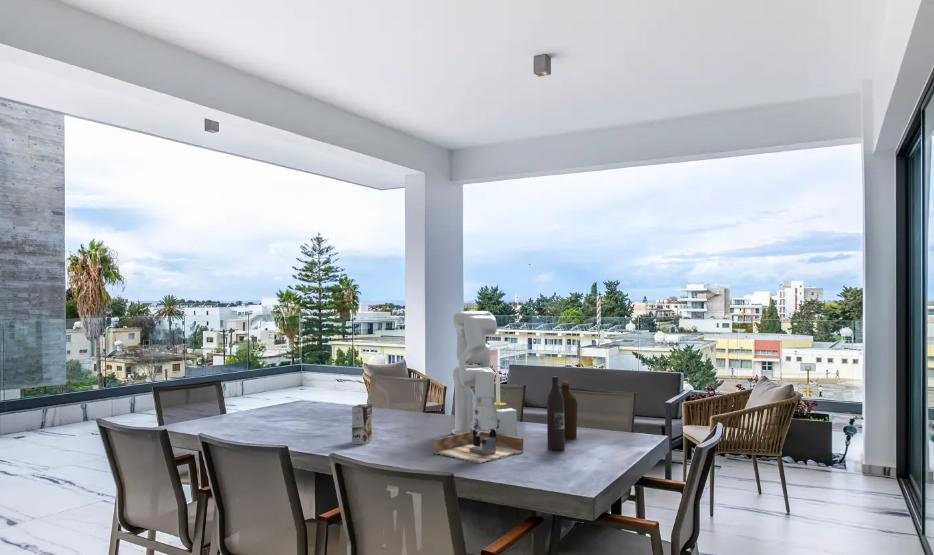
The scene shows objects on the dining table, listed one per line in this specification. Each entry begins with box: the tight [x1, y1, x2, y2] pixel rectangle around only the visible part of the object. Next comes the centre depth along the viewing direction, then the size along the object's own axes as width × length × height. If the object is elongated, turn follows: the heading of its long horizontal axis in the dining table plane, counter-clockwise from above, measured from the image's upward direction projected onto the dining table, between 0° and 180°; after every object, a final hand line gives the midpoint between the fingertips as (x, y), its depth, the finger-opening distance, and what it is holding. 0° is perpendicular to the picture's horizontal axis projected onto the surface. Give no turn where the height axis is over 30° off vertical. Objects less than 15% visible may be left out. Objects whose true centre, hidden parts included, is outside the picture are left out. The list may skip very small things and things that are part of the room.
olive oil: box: [560, 380, 578, 440], centre depth 288 cm, size 11×11×25 cm
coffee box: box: [351, 403, 373, 445], centre depth 280 cm, size 9×6×16 cm
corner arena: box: [432, 431, 524, 464], centre depth 258 cm, size 26×26×6 cm
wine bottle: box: [546, 375, 566, 452], centre depth 264 cm, size 7×7×30 cm
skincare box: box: [496, 407, 518, 437], centre depth 274 cm, size 8×6×15 cm
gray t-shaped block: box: [470, 437, 496, 455], centre depth 254 cm, size 9×6×6 cm, turn 49°
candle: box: [494, 370, 507, 410], centre depth 325 cm, size 10×10×27 cm
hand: (485, 443), depth 253 cm, fingers open, 9 cm apart
